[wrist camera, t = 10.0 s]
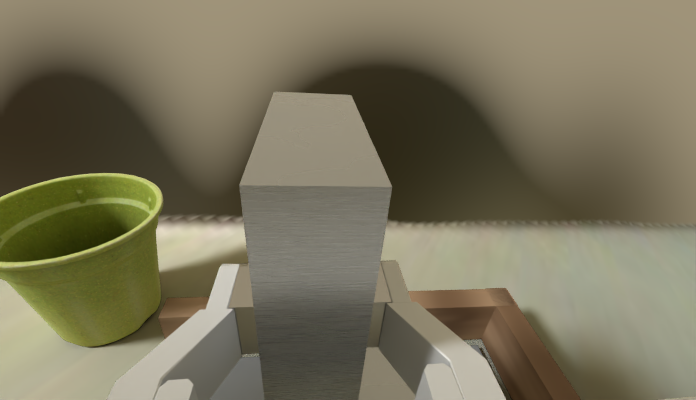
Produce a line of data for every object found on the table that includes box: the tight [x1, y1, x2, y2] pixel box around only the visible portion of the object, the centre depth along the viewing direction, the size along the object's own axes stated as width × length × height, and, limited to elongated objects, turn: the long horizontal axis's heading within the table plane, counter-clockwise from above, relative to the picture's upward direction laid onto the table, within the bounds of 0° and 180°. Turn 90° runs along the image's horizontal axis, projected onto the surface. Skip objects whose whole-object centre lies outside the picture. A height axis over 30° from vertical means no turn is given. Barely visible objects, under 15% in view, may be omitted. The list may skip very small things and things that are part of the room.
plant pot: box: [0, 173, 163, 347], centre depth 21 cm, size 9×9×9 cm
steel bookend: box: [239, 92, 416, 400], centre depth 9 cm, size 5×5×11 cm
